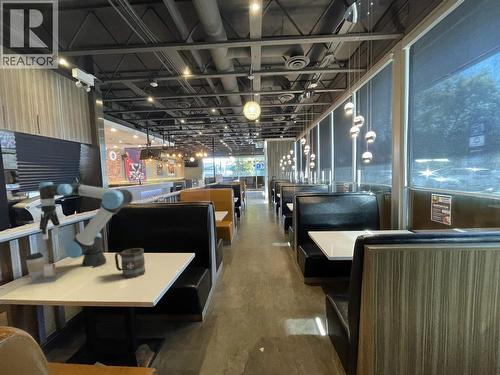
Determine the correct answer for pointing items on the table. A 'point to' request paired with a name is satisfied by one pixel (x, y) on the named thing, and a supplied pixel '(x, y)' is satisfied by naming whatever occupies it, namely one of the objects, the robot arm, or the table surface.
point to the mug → (131, 262)
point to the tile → (49, 270)
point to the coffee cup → (35, 264)
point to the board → (45, 279)
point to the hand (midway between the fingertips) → (51, 236)
